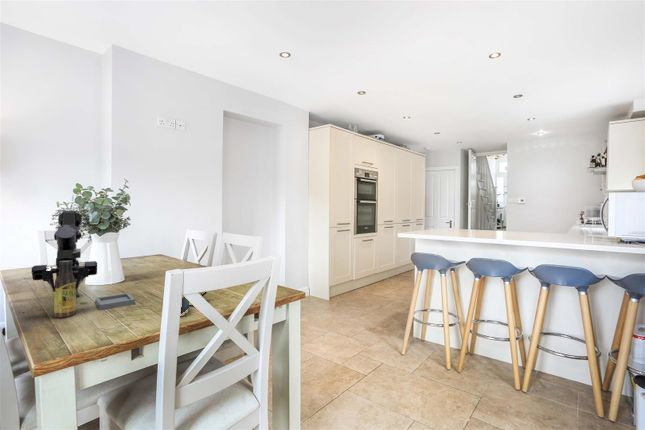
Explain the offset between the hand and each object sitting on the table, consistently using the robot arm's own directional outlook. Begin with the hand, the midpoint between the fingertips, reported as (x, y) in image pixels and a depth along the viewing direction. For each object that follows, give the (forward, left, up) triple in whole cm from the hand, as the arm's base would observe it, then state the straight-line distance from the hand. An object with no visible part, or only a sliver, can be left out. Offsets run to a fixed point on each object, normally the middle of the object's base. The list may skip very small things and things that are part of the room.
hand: (65, 289), depth 113 cm
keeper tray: (-6, +16, -10) cm, 20 cm away
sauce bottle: (-1, 0, -10) cm, 10 cm away
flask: (+23, +33, -10) cm, 41 cm away
